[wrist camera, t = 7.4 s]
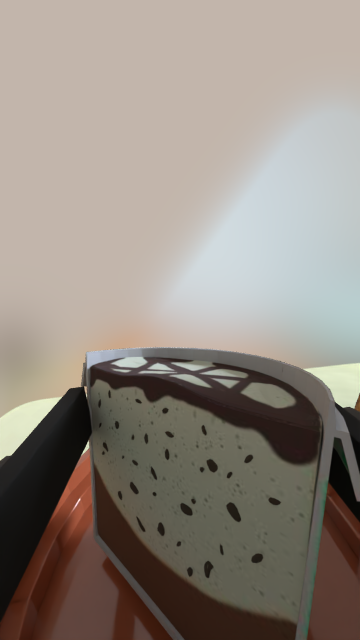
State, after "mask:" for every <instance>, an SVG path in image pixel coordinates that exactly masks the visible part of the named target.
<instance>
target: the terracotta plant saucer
mask: <svg viewBox="0 0 360 640" xmlns="http://www.w3.org/2000/svg"><path fill="white" fill-rule="evenodd" d="M0 640H173V639H172V637H171V636H170V635H169V634H168V632H167V631H166V630H165V629H164V627H163V626H162V625H161V623H160V622H159V621H158V620H157V618H156V617H155V616H154V615H153V613H152V612H151V611H150V609H149V608H148V607H147V606H146V604H145V603H144V602H143V601H142V599H141V598H140V597H139V595H138V594H137V593H136V592H135V590H134V589H133V588H132V587H131V585H130V584H129V583H128V582H127V580H126V579H125V578H124V576H123V575H122V574H121V573H120V571H119V570H118V569H117V568H116V566H115V565H114V564H113V562H112V561H111V560H110V559H109V557H108V556H107V555H106V554H105V552H104V551H103V550H102V548H101V547H100V546H99V545H98V543H97V542H96V541H95V540H94V536H93V514H92V492H91V470H90V448H89V449H88V450H87V451H86V452H85V453H84V454H83V455H82V456H81V457H80V459H79V461H78V463H77V465H76V467H75V469H74V471H73V473H72V476H71V478H70V480H69V482H68V484H67V486H66V488H65V490H64V492H63V494H62V496H61V498H60V500H59V502H58V504H57V507H56V509H55V511H54V513H53V515H52V517H51V519H50V521H49V523H48V525H47V527H46V529H45V531H44V533H43V535H42V538H41V540H40V542H39V544H38V546H37V548H36V550H35V552H34V554H33V556H32V558H31V560H30V562H29V564H28V566H27V569H26V571H25V573H24V575H23V577H22V579H21V581H20V583H19V585H18V587H17V589H16V591H15V593H14V595H13V598H12V600H11V602H10V604H9V606H8V608H7V610H6V612H5V614H4V616H3V618H2V620H1V622H0ZM307 640H360V522H359V521H358V520H357V518H356V517H355V516H354V514H353V513H352V512H351V511H350V509H349V508H348V507H347V505H346V504H345V503H344V502H343V500H342V499H341V498H340V497H339V495H338V494H337V493H336V491H335V490H334V489H333V488H332V486H331V485H330V484H329V482H328V486H327V494H326V501H325V508H324V516H323V523H322V531H321V538H320V545H319V553H318V560H317V568H316V575H315V582H314V590H313V597H312V605H311V612H310V619H309V627H308V634H307Z"/></svg>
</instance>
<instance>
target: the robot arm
mask: <svg viewBox="0 0 360 640" xmlns="http://www.w3.org/2000/svg"><path fill="white" fill-rule="evenodd" d="M335 407H336V409H337V410H338V411H339V412H340V414H341V415H342V416H343V418H344V420H345V423H346V426H347V428H348V431H349V434H350V438H351V442H352V446H353V450H354V454H355V458H356V462H357V466H358V470H359V474H360V412H359V411H357V410H355V409H353V408H351V407H345V408H342V407H341V406H340V405H338V404H337V403H336V402H335ZM91 434H92V426H91V417H90V410H89V406H88V402H87V397H86V393H85V390H84V387H78V388H71V389H69V390H68V391H67V393H66V394H65V395H64V396H63V397H62V398H61V399H60V400H59V402H58V403H57V404H56V405H55V406H54V407H53V408H52V410H51V411H50V412H49V413H48V414H47V415H46V416H45V418H44V419H43V420H42V421H41V422H40V423H39V424H38V426H37V427H36V428H35V429H34V430H33V431H32V432H31V434H30V435H29V436H28V437H27V438H26V439H25V441H24V442H23V443H22V444H21V445H20V446H19V447H18V449H17V450H16V451H15V452H14V453H13V454H12V455H11V456H6V457H5V458H3V459H2V460H1V461H0V622H1V620H2V618H3V616H4V614H5V612H6V610H7V608H8V606H9V604H10V602H11V600H12V598H13V595H14V593H15V591H16V589H17V587H18V585H19V583H20V581H21V579H22V577H23V575H24V573H25V571H26V569H27V566H28V564H29V562H30V560H31V558H32V556H33V554H34V552H35V550H36V548H37V546H38V544H39V542H40V540H41V538H42V535H43V533H44V531H45V529H46V527H47V525H48V523H49V521H50V519H51V517H52V515H53V513H54V511H55V509H56V507H57V504H58V502H59V500H60V498H61V496H62V494H63V492H64V490H65V488H66V486H67V484H68V482H69V480H70V478H71V476H72V473H73V471H74V469H75V467H76V465H77V463H78V461H79V459H80V457H81V455H82V453H83V451H84V449H85V447H86V445H87V442H88V440H89V438H90V436H91ZM328 482H329V484H330V485H331V486H332V488H333V489H334V490H335V491H336V493H337V494H338V495H339V497H340V498H341V499H342V500H343V502H344V503H345V504H346V505H347V507H348V508H349V509H350V511H351V512H352V513H353V514H354V516H355V517H356V518H357V520H358V521H359V522H360V502H359V501H357V500H356V496H355V493H354V489H353V486H352V482H351V478H350V475H349V473H348V471H347V469H346V467H345V465H344V463H343V462H342V460H341V458H340V456H339V454H338V452H337V451H336V450H335V448H334V447H333V449H332V457H331V464H330V471H329V479H328Z"/></svg>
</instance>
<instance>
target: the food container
mask: <svg viewBox="0 0 360 640" xmlns="http://www.w3.org/2000/svg"><path fill="white" fill-rule="evenodd" d="M81 386H82V387H84V386H87V402H88V406H89V410H90V417H91V426H92V434H91V436H90V438H89V448H90V470H91V492H92V514H93V536H94V540H95V541H96V542H97V543H98V545H99V546H100V547H101V548H102V550H103V551H104V552H105V554H106V555H107V556H108V557H109V559H110V560H111V561H112V562H113V564H114V565H115V566H116V568H117V569H118V570H119V571H120V573H121V574H122V575H123V576H124V578H125V579H126V580H127V582H128V583H129V584H130V585H131V587H132V588H133V589H134V590H135V592H136V593H137V594H138V595H139V597H140V598H141V599H142V601H143V602H144V603H145V604H146V606H147V607H148V608H149V609H150V611H151V612H152V613H153V615H154V616H155V617H156V618H157V620H158V621H159V622H160V623H161V625H162V626H163V627H164V629H165V630H166V631H167V632H168V634H169V635H170V636H171V637H172V639H173V640H307V634H308V627H309V619H310V612H311V605H312V597H313V590H314V582H315V575H316V568H317V560H318V553H319V545H320V538H321V531H322V523H323V516H324V508H325V501H326V494H327V486H328V479H329V471H330V464H331V457H332V449H333V447H334V448H335V450H336V451H337V452H338V454H339V456H340V458H341V460H342V462H343V463H344V465H345V467H346V469H347V471H348V473H349V475H350V478H351V482H352V486H353V489H354V493H355V496H356V500H357V501H359V502H360V474H359V470H358V466H357V462H356V458H355V454H354V450H353V446H352V442H351V438H350V434H349V431H348V428H347V426H346V423H345V420H344V418H343V416H342V415H341V414H340V412H339V411H338V410H337V409H336V407H335V401H334V398H333V396H332V393H331V391H330V389H329V388H328V387H327V386H326V385H325V384H324V383H323V381H322V380H320V379H319V378H317V377H316V376H314V375H312V374H311V373H309V372H307V371H305V370H303V369H300V368H298V367H296V366H293V365H290V364H287V363H284V362H281V361H277V360H273V359H270V358H265V357H261V356H256V355H251V354H245V353H238V352H231V351H222V350H211V349H198V348H170V347H168V348H167V347H165V348H164V347H161V348H160V347H159V348H158V347H157V348H127V349H113V350H103V351H94V352H86V363H83V373H82V382H81Z"/></svg>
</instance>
